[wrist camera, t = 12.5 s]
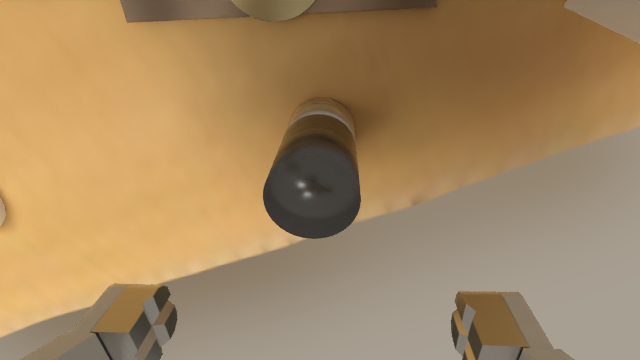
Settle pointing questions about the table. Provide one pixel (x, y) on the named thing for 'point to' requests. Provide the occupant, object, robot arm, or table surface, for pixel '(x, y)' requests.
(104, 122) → the table surface
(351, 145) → the bottle with black cap
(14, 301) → the table surface
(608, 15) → the white cube
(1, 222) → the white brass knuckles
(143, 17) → the strip
